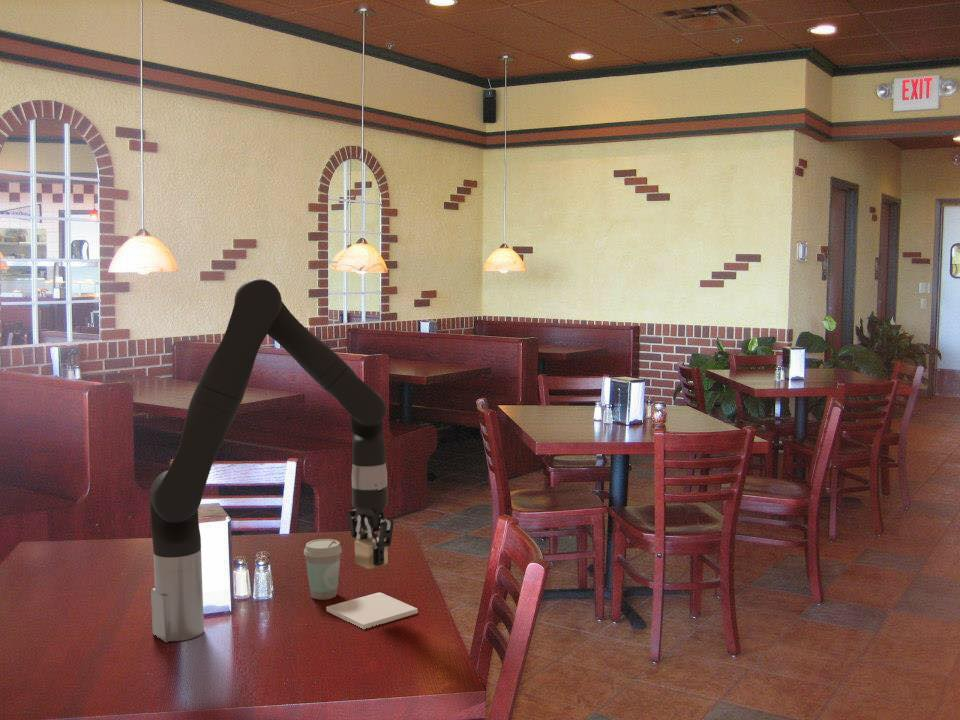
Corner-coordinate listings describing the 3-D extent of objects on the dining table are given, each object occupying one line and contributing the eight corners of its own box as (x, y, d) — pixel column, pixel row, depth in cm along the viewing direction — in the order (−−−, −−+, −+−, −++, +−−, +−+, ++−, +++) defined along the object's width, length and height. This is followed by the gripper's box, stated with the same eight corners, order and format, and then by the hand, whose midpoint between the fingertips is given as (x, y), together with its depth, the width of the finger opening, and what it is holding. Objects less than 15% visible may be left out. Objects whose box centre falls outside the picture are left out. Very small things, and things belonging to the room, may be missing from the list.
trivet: (363, 629, 202) (363, 624, 202) (326, 611, 212) (326, 606, 212) (417, 613, 211) (417, 608, 211) (379, 596, 222) (379, 592, 222)
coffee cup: (323, 604, 217) (322, 551, 215) (296, 596, 222) (295, 544, 220) (350, 594, 223) (349, 542, 222) (324, 586, 228) (323, 536, 227)
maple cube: (368, 569, 207) (367, 545, 207) (355, 563, 211) (354, 540, 211) (387, 564, 211) (387, 541, 210) (374, 558, 214) (373, 536, 214)
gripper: (336, 481, 212) (337, 558, 214) (374, 493, 201) (376, 573, 203) (364, 475, 217) (366, 551, 219) (404, 487, 206) (405, 566, 208)
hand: (371, 561), depth 211 cm, fingers closed on maple cube, 5 cm apart
